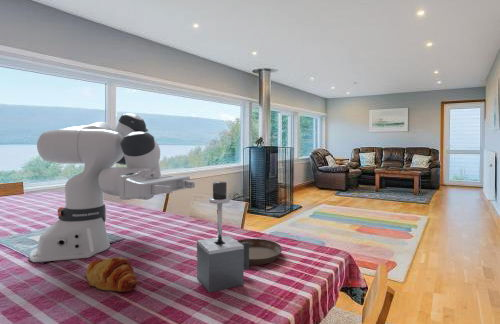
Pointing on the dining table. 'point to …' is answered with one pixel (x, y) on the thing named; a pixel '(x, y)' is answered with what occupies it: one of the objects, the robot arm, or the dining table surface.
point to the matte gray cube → (221, 263)
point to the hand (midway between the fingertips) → (182, 187)
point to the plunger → (219, 204)
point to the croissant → (112, 274)
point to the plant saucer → (262, 251)
